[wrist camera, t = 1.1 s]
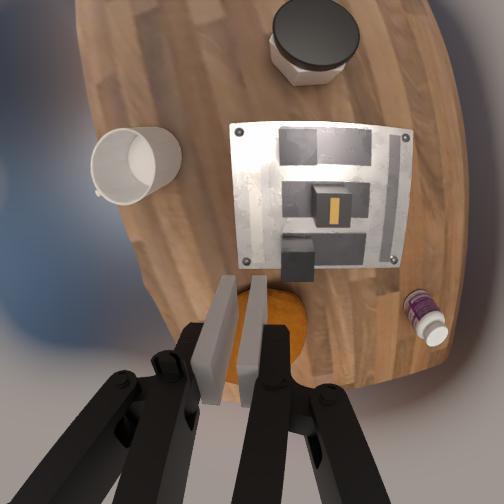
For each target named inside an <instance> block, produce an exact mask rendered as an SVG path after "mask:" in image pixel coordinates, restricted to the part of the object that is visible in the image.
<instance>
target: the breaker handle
mask: <svg viewBox="0 0 504 504" xmlns="http://www.w3.org/2000/svg"><path fill="white" fill-rule="evenodd" d="M351 210H352V193H351V192H350V191H349V190H348V189H347V188H346V187H344V186H343V185H316V184H312V217H313V220H314V223H315V226H316V228H350V224H351Z"/></svg>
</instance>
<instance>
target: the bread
mask: <svg viewBox="0 0 504 504" xmlns="http://www.w3.org/2000/svg"><path fill="white" fill-rule="evenodd" d="M249 292H250V290H248V291H245V292H243V293H241V294H239V295H237V297H238V308H239V318H238V323H237V328H236V332H235V337H234V342H233V346H232V351H231V356H230V360H229V365H228V370H227V374H226V379H225V381H226V382H230V383H234V384H238V376H237V368H236V363H237V357H238V352H239V347H240V341H241V336H242V330H243V325H244V320H245V314H246V309H247V303H248V298H249ZM267 312H268V317H267V324H274V325H286V327H287V328H288V330H289V331H290V364H292V363H293V362H294V361H295V360H296V358H297V357H298V356H299V355H300V353H301V350H302V348H303V346H304V342H305V338H306V334H307V321H308V319H307V313H306V309H305V307H304V305H303V303H302V301H301V300H300V299H299V297H298V296H297V295H296V294H294V293H292V292H288V291H282V290H275V289H267ZM238 385H239V384H238Z"/></svg>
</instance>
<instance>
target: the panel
mask: <svg viewBox="0 0 504 504" xmlns="http://www.w3.org/2000/svg"><path fill="white" fill-rule="evenodd" d="M229 126H230V143H231V160H232V177H233V192H234V207H235V222H236V236H237V250H238V264H239V269H281V282H314V269H317V268H385V267H400V262H401V256H402V250H403V244H404V238H405V231H406V224H407V216H408V208H409V198H410V187H411V173H412V154H413V130H408V129H401V128H394V127H385V126H376V125H366V124H353V123H337V122H311V121H274V122H247V123H231V124H229ZM312 184H316V185H343V186H344V187H346V188H347V189H348V190H349V191H350V192H351V193H352V210H351V224H350V228H316V226H315V223H314V220H313V217H312Z"/></svg>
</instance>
